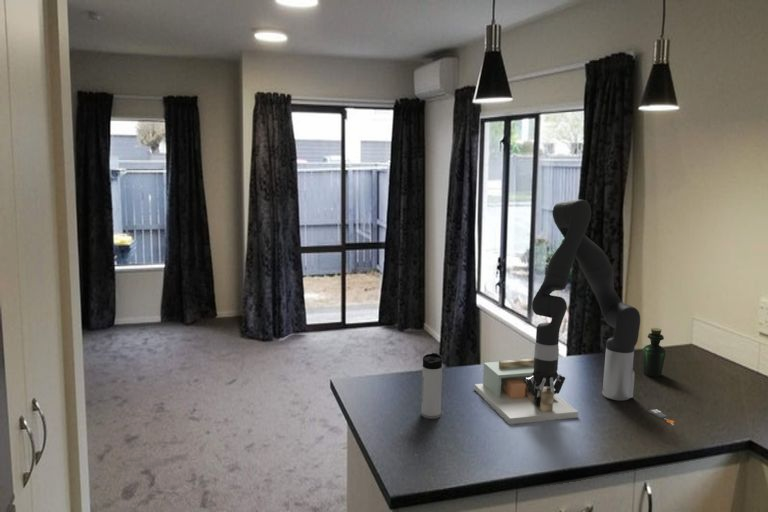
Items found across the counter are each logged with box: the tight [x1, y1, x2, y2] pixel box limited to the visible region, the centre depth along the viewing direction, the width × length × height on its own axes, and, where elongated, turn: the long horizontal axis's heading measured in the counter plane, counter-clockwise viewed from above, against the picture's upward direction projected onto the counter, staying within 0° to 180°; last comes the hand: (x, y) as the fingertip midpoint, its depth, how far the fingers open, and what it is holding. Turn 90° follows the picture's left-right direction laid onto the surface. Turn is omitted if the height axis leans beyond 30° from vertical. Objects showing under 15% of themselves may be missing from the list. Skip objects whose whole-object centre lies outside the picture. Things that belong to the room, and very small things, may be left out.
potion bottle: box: [642, 327, 667, 378], centre depth 236 cm, size 8×8×18 cm
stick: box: [498, 357, 534, 369], centre depth 215 cm, size 14×2×2 cm, turn 104°
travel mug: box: [421, 352, 443, 420], centre depth 196 cm, size 6×7×20 cm
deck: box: [473, 361, 579, 425], centre depth 208 cm, size 24×29×10 cm
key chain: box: [648, 408, 675, 426], centre depth 197 cm, size 13×4×2 cm, turn 18°
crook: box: [503, 382, 554, 412], centre depth 204 cm, size 9×19×6 cm, turn 13°
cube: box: [505, 379, 526, 399], centre depth 209 cm, size 5×5×5 cm
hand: (543, 405), depth 199 cm, fingers closed on crook, 3 cm apart
